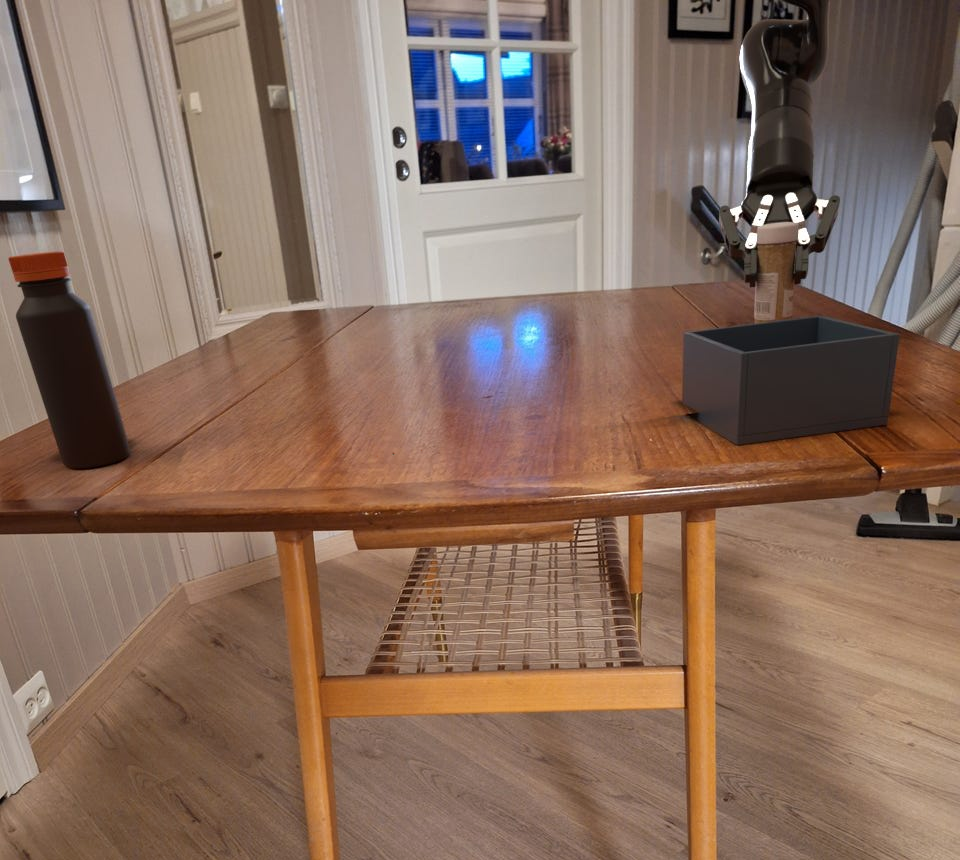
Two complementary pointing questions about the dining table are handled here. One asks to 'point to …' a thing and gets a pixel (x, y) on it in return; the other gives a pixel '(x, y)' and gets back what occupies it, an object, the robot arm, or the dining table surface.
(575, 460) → the dining table surface
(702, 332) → the open storage bin
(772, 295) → the sprinkles bottle
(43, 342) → the vinegar
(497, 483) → the dining table surface
